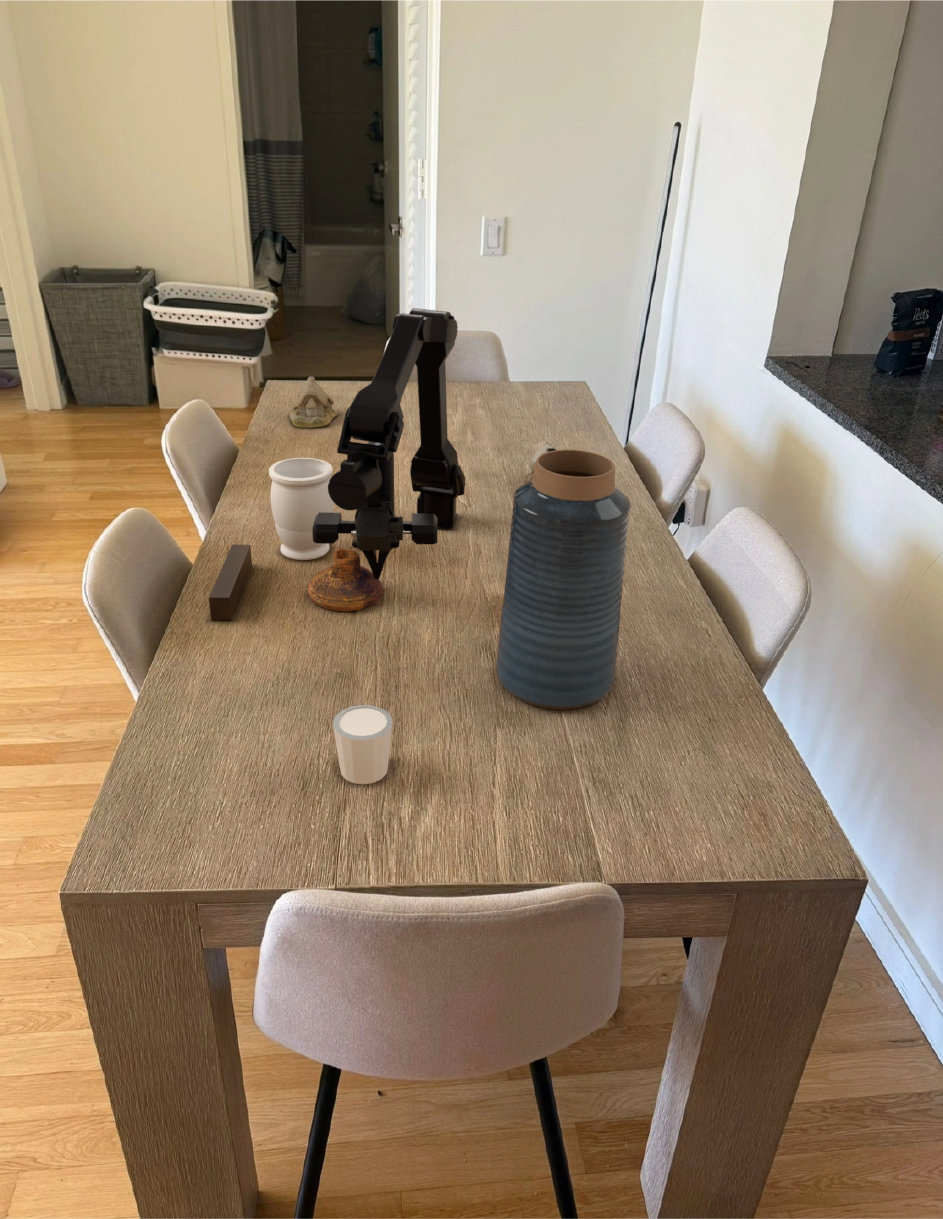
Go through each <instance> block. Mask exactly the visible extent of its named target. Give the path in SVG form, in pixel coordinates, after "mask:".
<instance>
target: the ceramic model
mask: <svg viewBox="0 0 943 1219" xmlns="http://www.w3.org/2000/svg"><path fill="white" fill-rule="evenodd" d="M304 382H305V383H304V384H303V385H302V386H300V389H299V391H297V393H296V404H295V406H293V407H292V408H291V410H290V412H289V417H290V420H291V423H292V424H293V425H294V427H297V428H319V427H324V426H327V425H329V424H330V423H332V420H333V419H334V418H335V417H336V416H338V411H337V410H336V409H333V405H334V404H335V399H334V398H333V397H332V396H330V395H329V394H328V393H327V392H326V391H325V390H324V389H323V388H322V386H321V385H320V384H319V383H318V382H317V381H316V379H315V377H314V376H313V375H312V376H311V375H309V376H308V378H307V379H306V381H304Z"/></svg>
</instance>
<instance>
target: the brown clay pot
mask: <svg viewBox="0 0 943 1219" xmlns="http://www.w3.org/2000/svg"><path fill="white" fill-rule="evenodd" d="M332 558H333V564H332V565H330V566H327V567H325V568H323V569H321V570H319V571H318V572H317V573H316V574H315V575H314V576H313V577H312V578H311V579H310V581H309V583H308V584H307V591H306V593H307V596H308V599H309V600H310V601H311V602H312V603H313V604H314V605H316V606H318V607H321V608H324V609H325V610H330V611H338V612H356V611H360V610H363V609H365V608H368V607H369V606H372V605H376V604H377V603H378V602H380V600H381V598H382V596H383V594H384V587H383V583H382V582H381V581H380V578H379V579H375V578H374V575H373V573H372V570H371V569H369V568H367V567H365V566H363V565H361V557H360V555H359V553H358V552H357V551H356V550H353V549H348V548H337V549H335V550H334V551H333V554H332Z"/></svg>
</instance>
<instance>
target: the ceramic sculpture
mask: <svg viewBox="0 0 943 1219" xmlns="http://www.w3.org/2000/svg"><path fill="white" fill-rule="evenodd" d="M555 450H559V449H558V448H556V447H555V446H554V445H552V444H551V443H550V442H549V441H547V442H546V443H545V444H544V445H542V446H541V447H540V448H539V449H537V451H536V452H535V453H534V454H533V456H532V458H531V460H529V467H530V471H531V472H529V473H528V474H527V475H526V476H525V480H524V483H526V482H528V481H530V480H532V478H533V474H534V469H535V464H536V460H537V458H538V457H539V456H540V455H542V454H544V453H547V452H550V451H555Z"/></svg>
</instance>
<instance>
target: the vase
mask: <svg viewBox="0 0 943 1219" xmlns="http://www.w3.org/2000/svg"><path fill="white" fill-rule="evenodd" d="M512 499H513V500H512V502H513V503H512V506H513V507H512V514H511V523H510V533H509V540H508V541H509V543H508V553H507V562H506V570H505V571H506V572H505V582H504V590H503V600H502V606H501V616H500V626H499V633H498V634H499V636H498V644H497V654H496V655H497V656H496V661H495V662H496V663H495V672H496V676H497V679H498V681H499V682H500V684H501V685H502V686H503V688H504V689H505V690H507V691H508V692H509V693H510V694H511V695H512V696H513V697H515V698H516V699H518V700H520V701H522V702H524V703H526V704H529V705H532V706H535V707H538V708H543V709H549V710H572V709H573V710H574V709H579V708H584V707H587V706H590V705H591V704H594V703H596V702H597V701H599V700H601V699H602V698H603V697H606V695H607V694H609V693H610V691H611V690H612V688H613V686H614V683H615V679H616V669H617V665H616V664H617V658H618V647H619V635H620V625H621V607H622V597H623V585H624V576H625V565H626V564H625V563H626V553H627V544H628V542H627V540H628V530H629V521H630V514H631V513H630V512H631V500H630V499H629V496H627V494H625V492H623V491H622V490H621V489H620V488H619V487H618V486H616V466H615V464H614V462H613V460H611V459H610V458H608V457H606V456H604V455H602V454H599V453H596V452H592V451H587V450H580V449H558V450H555V451H550V452H547V453H544V454H542V455H540V456H539V457H538V458H537V460H536V464H535V469H534V474H533V478H532V480H530V481H528V482H526V483H525V482H524V483H522V484H521V485H519V486H518V487H517V488H516V489H515V491H514V493H513V498H512Z"/></svg>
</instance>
